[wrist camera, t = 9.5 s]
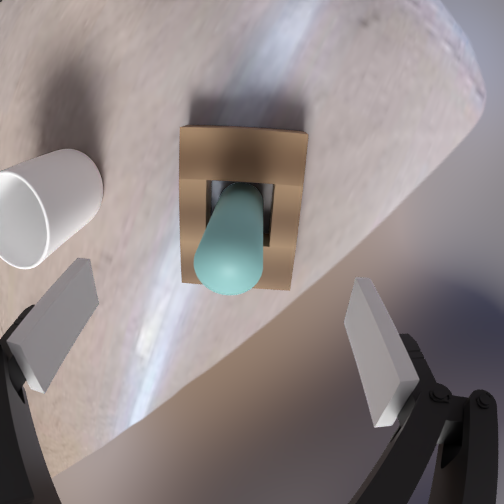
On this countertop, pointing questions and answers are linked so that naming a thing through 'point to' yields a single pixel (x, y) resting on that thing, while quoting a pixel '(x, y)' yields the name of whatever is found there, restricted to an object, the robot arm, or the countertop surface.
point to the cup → (46, 204)
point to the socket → (242, 170)
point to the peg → (232, 242)
